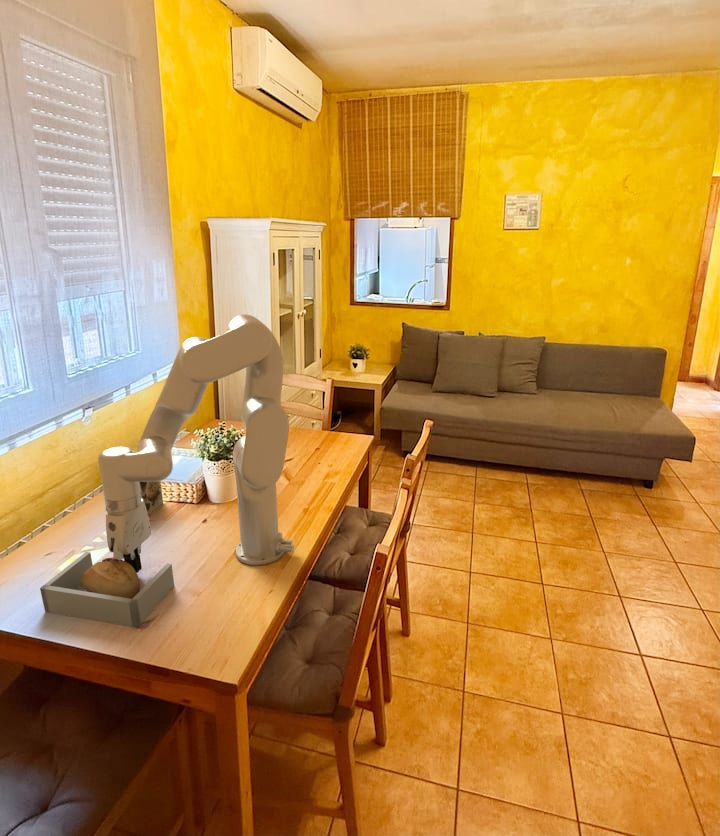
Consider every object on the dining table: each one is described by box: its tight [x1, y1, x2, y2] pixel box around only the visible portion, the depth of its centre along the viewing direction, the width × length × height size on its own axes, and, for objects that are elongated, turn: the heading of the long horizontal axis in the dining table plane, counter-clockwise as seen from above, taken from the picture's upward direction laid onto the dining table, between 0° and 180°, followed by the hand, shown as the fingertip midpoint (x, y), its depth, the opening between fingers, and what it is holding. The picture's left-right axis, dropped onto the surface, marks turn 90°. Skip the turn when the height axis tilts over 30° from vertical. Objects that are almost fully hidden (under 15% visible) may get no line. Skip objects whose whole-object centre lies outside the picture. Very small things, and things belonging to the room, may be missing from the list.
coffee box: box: [139, 481, 164, 516], centre depth 158 cm, size 9×6×16 cm
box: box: [39, 551, 175, 628], centre depth 120 cm, size 22×14×6 cm, turn 77°
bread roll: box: [81, 556, 141, 599], centre depth 121 cm, size 10×15×8 cm, turn 63°
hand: (133, 570), depth 128 cm, fingers closed
